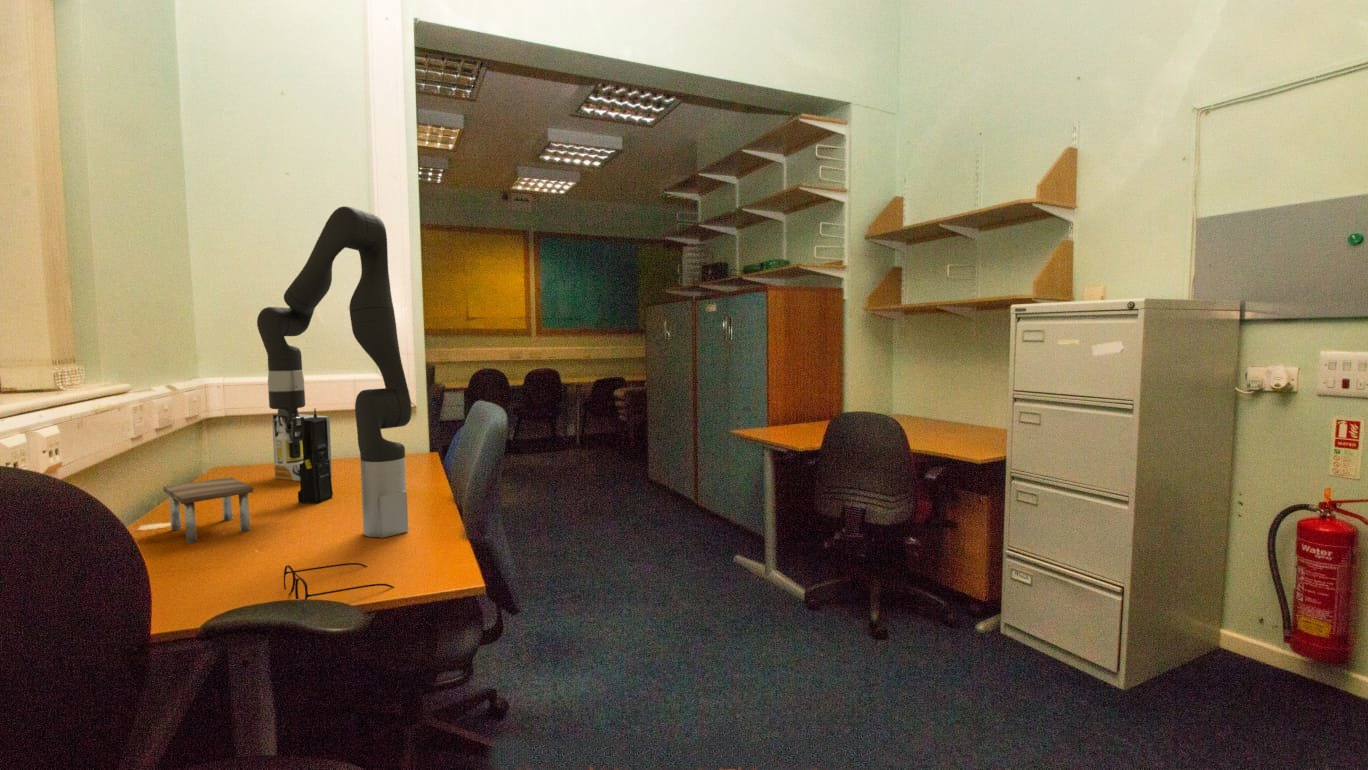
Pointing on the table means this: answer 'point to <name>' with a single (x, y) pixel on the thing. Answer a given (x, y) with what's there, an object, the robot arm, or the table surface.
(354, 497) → the table surface
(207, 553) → the table surface
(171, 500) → the small wooden stool
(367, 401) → the robot arm
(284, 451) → the supplement bottle
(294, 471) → the hard drive box
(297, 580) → the glasses
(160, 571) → the table surface
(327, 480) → the portable radio
